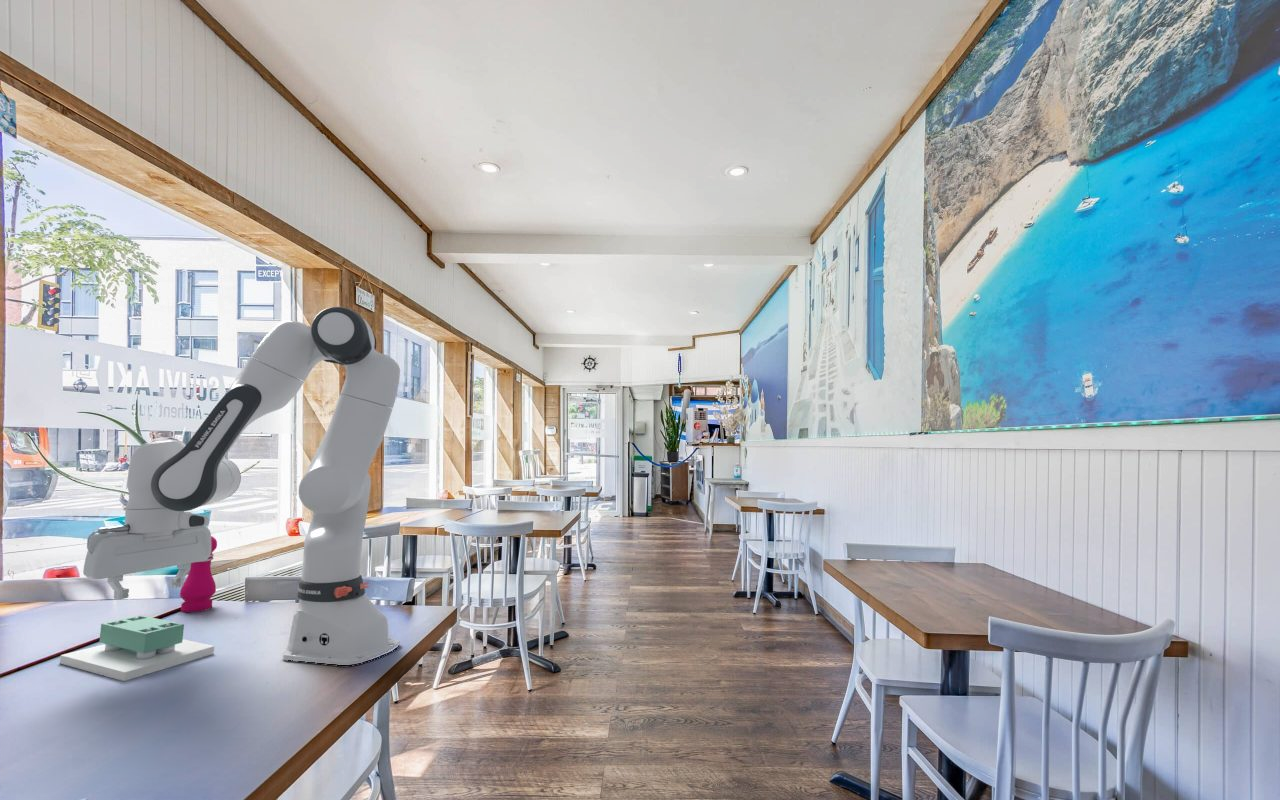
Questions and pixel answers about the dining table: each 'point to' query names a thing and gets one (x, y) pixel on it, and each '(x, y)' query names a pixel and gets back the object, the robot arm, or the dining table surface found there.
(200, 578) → the pepper mill
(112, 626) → the green block with holes
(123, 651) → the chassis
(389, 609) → the dining table surface
